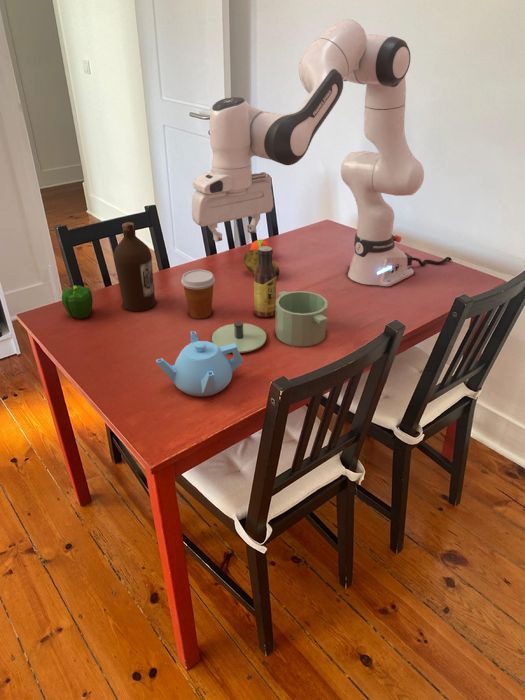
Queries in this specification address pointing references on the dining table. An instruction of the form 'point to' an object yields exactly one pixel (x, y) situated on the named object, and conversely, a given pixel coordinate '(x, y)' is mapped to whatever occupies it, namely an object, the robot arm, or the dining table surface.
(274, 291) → the sauce bottle
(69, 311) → the bell pepper
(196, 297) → the disposable coffee cup
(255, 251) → the potato
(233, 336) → the lid
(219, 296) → the dining table surface
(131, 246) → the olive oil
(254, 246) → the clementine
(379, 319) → the dining table surface
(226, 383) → the teapot
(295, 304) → the pot
